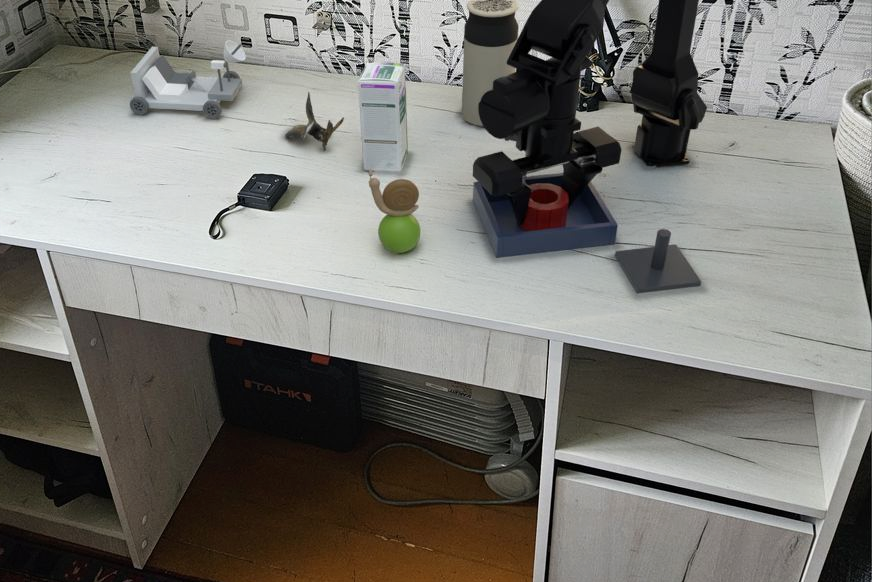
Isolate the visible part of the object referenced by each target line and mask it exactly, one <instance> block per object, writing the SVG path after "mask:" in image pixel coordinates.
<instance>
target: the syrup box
mask: <svg viewBox="0 0 872 582" xmlns="http://www.w3.org/2000/svg"><path fill="white" fill-rule="evenodd" d="M357 86H358V103H359V119H360V137H361V149H362V162H363V163H362V165H363V170H364V171H367V172H368V170H369V169H372V172H375V171H385V172H396V173H397V172H398V173H400V172H402V170H403V168H404V165H405V162H406V160H407V158H408V157H407V156H408V154H409V151H408V150H409V148H408V147H409V146H408V117H407V115H408V113H407V112H408V111H407V86H406V65H405V64H404V63H397V62H388V61H387V62H386V61H378V62H377V61H376V62H375V61H374V62H373V61H372V62H366V64H365V66H364V68H363V70H362V71H361V73H360V76H359V78H358V80H357Z"/></svg>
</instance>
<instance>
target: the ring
mask: <svg viewBox="0 0 872 582" xmlns="http://www.w3.org/2000/svg"><path fill="white" fill-rule="evenodd" d="M529 187H530V188H531V189H532V191H531V195H530V200H529V204H528V209H527V213H526V217H525V220H524V222H523V224H521V225H520V224H519V223H518V222H517V224H518V225H519V227H520V228H521V229H522V230H524V231H526V232H527V231H536V230H545V229H554V228H563V227H565V226H566V220H567V212H568V203H569V196H568V193H567V192H566V191H565V190H564V189H562V188H561V187H559V186H556V185H553V184H550V185H549V184H545V183H537V184H532V185H529Z"/></svg>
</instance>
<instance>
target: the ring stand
mask: <svg viewBox="0 0 872 582" xmlns="http://www.w3.org/2000/svg"><path fill="white" fill-rule="evenodd" d="M671 236H672V232H671V231H670V230H669V229H666V228H660V229H657V231H656V237H655V242H654V246H650V247H649V246H648V247H641V248H632V249H631V248H630V249H624V250H623V249H622V250H615V252H614V257H615V259H616V260H617V262H618V263H619V265H620V267H621V269H622V270H623V272H624V273H625V275H626V278H627V279H628V281H629V282H630V284H631V286H632V287H633V289H634V291H635V293H636V294H645V293H653V292H663V291H670V290H678V289H687V288H688V289H689V288H695V287H701V285H702V281H701V279H700V277H699V276H698V274H697V272H696V271H695V270H694V268H693V267H692V266H691V265H690V262H689V261H688V260H687V258H686V257H685V255H684V254H683V253H682V251H681V249H680V248H679V247H678V245H677V244H676V243H675V244H670V241H671V238H672V237H671Z"/></svg>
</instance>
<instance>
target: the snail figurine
mask: <svg viewBox="0 0 872 582" xmlns="http://www.w3.org/2000/svg"><path fill="white" fill-rule="evenodd" d="M367 172H368V173H367V174H368V176H369V180H368V187H369V188H370V191H371V195H372V199H373V202H374V204H375V205H376V207H377V209H378V210H379V211H380V212H381V213H384V214H386V215H385V216H384V217H383V218H382V219H381V220H380V222H379V225H378V229H377V235H378V238H379V241H380V243H381V244H382V246H383V247H384V248H385V249H387V251H390V252H392V253H396V254H403V253H406V252H409V251H411V250H412V249H414V248H415V247H416V245H417V244H418V243H419V240H420V238H421V226H420V222H419V221H418V219H417V218H416V216H414V215H413V213H415V212H416V211H417V210H418V209H419V207H420V205H419V204H417V203H418V201H419V197H420V191H419V188H418V187H417V185H416V184H415V183H414V182H413V181H411V180H409V179H405V178H398V179H394V180H392V181H390V182H389V183H388V184H386V186H385V187H384V189H383V191H382V190H381V188H380V186H381V182H380V180H379V178H377V177H372V176H373V175H374V174H373V171H372V169H369V170H368V171H367ZM381 191H382V192H381Z"/></svg>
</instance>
